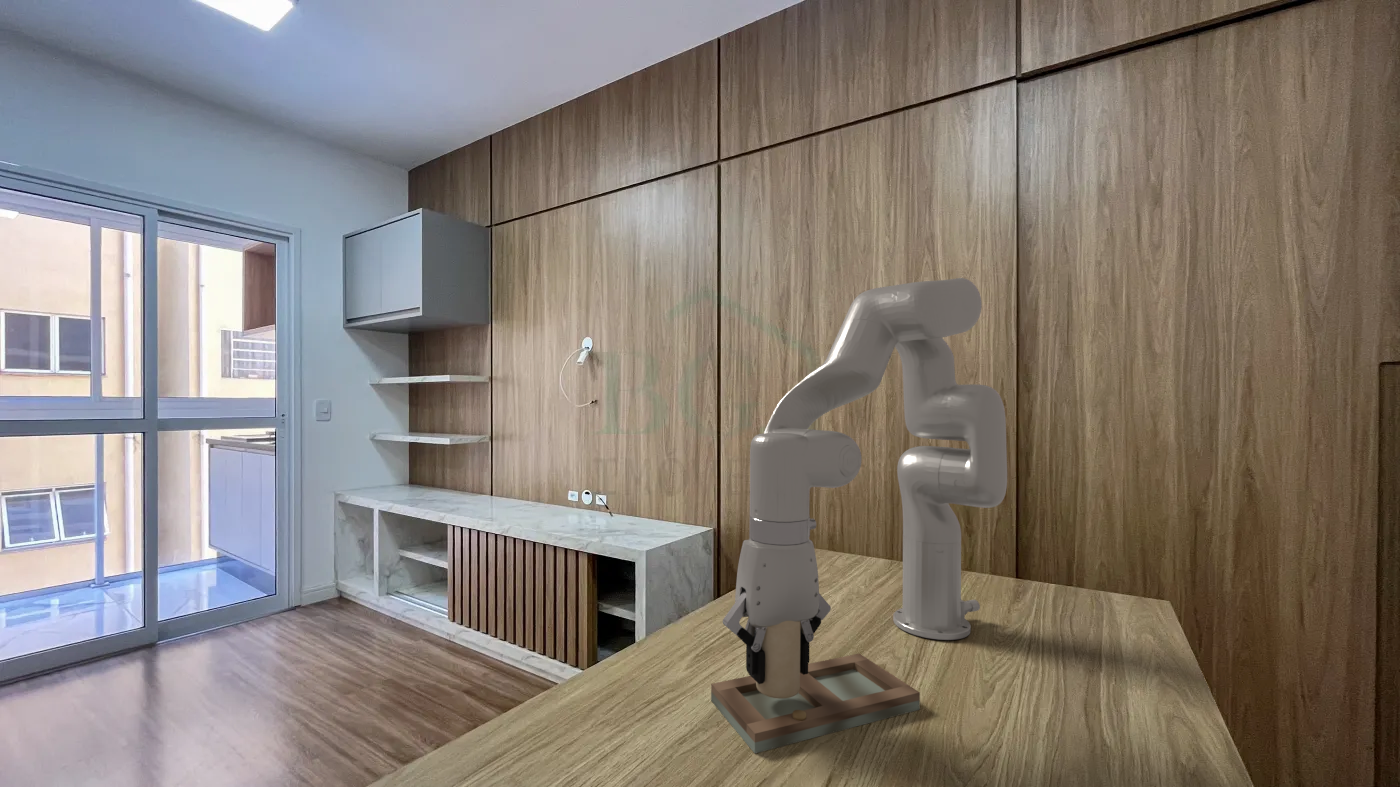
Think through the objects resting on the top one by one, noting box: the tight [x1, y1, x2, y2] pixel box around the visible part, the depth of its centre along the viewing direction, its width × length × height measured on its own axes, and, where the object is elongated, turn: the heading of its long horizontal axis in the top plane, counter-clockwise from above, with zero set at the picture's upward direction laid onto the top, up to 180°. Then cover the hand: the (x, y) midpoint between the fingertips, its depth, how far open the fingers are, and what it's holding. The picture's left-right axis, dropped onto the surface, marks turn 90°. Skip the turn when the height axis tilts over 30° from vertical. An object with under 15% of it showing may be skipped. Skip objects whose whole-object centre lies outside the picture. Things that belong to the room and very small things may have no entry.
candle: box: [756, 621, 800, 699], centre depth 72 cm, size 6×6×10 cm
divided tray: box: [710, 653, 921, 754], centre depth 74 cm, size 24×12×3 cm, turn 113°
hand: (778, 672), depth 72 cm, fingers closed on candle, 5 cm apart
